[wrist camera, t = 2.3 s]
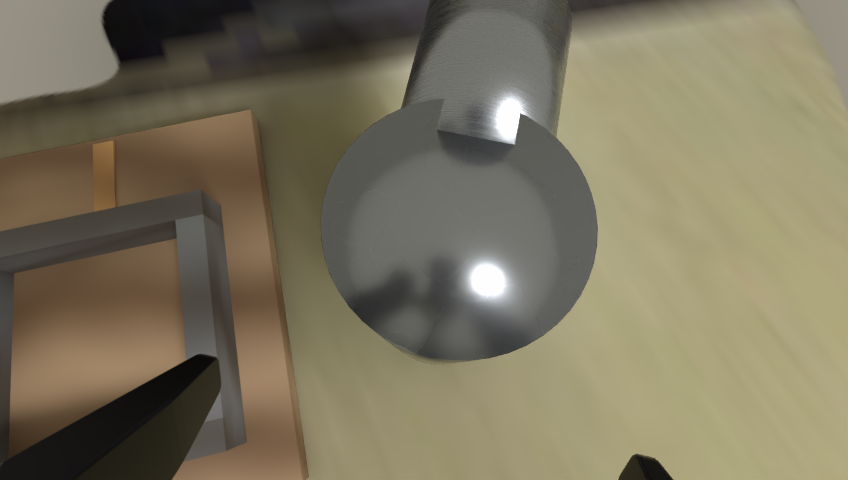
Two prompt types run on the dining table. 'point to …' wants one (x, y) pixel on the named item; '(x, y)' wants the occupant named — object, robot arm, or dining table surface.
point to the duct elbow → (466, 191)
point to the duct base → (148, 290)
